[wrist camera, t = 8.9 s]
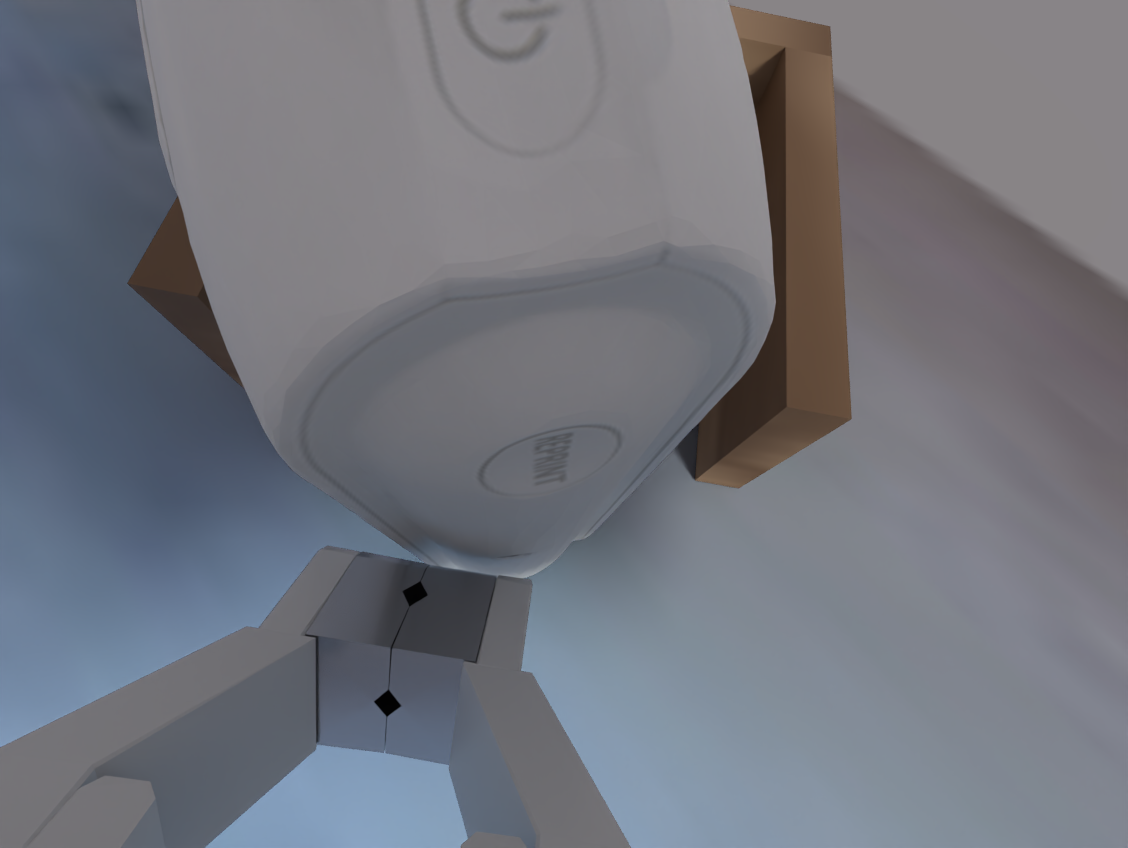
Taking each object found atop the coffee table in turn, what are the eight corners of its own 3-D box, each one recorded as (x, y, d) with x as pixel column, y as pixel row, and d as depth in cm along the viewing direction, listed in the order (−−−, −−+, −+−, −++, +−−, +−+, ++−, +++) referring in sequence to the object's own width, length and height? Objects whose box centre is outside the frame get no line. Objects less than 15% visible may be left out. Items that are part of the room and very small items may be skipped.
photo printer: (607, 561, 13) (1346, 53, 2) (434, 608, 12) (-759, 302, 1) (512, 234, 16) (519, -689, 5) (372, 255, 16) (-14, -784, 4)
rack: (748, 179, 18) (830, 26, 14) (738, 488, 14) (851, 418, 9) (381, 106, 18) (335, -78, 13) (257, 401, 14) (126, 283, 9)
